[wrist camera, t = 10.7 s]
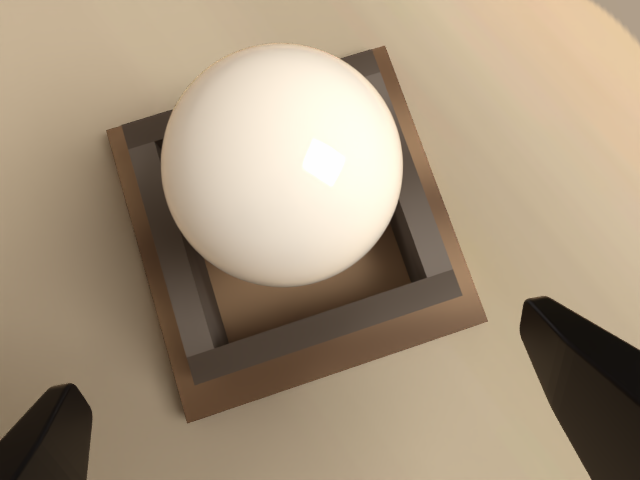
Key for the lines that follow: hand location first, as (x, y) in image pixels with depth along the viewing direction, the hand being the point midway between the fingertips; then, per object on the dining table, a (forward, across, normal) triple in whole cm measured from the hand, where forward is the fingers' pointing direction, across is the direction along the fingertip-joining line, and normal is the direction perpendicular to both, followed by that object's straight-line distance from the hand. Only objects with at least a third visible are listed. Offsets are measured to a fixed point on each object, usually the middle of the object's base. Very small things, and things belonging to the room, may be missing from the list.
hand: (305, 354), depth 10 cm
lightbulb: (+11, 0, +4) cm, 12 cm away
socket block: (+12, 0, +5) cm, 13 cm away
